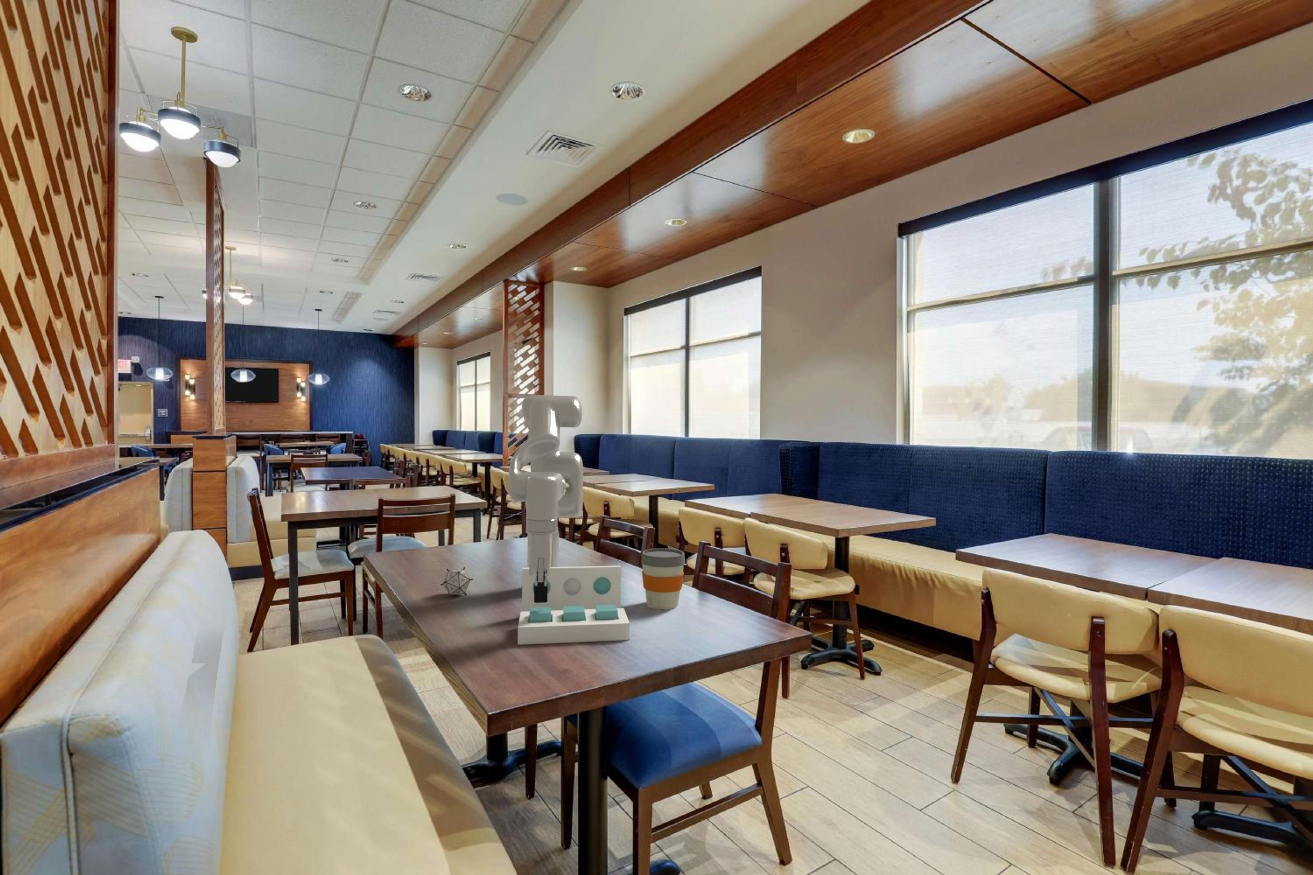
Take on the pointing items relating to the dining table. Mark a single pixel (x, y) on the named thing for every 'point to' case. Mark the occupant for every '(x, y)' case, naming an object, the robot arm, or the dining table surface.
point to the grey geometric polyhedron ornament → (456, 582)
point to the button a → (540, 614)
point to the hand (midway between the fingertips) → (540, 601)
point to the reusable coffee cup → (662, 577)
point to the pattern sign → (575, 587)
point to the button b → (573, 613)
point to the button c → (606, 612)
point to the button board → (572, 628)
